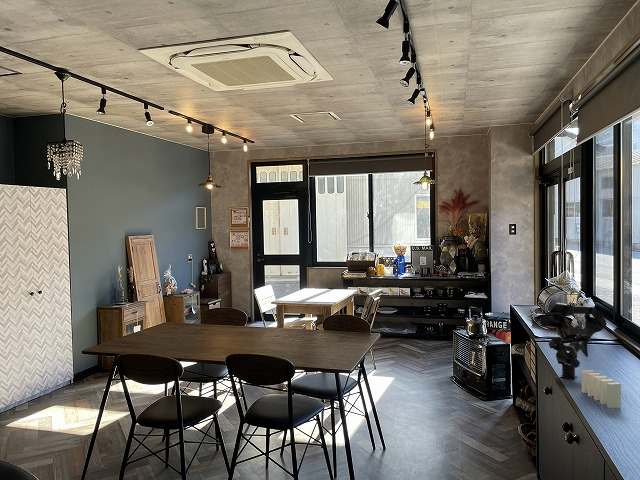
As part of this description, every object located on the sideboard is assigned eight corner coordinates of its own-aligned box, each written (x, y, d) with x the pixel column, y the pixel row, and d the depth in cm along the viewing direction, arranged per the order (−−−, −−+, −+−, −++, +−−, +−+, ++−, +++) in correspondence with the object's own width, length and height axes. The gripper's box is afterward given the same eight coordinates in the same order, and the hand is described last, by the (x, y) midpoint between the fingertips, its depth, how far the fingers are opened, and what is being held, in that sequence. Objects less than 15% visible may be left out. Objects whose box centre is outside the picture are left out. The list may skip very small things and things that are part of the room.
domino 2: (587, 395, 220) (587, 373, 219) (598, 395, 220) (598, 372, 220) (589, 397, 218) (589, 374, 218) (600, 396, 219) (600, 374, 218)
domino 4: (600, 403, 211) (600, 379, 211) (611, 402, 212) (611, 379, 211) (602, 404, 210) (602, 380, 209) (613, 403, 210) (613, 380, 210)
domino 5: (606, 406, 207) (606, 383, 206) (618, 406, 207) (618, 382, 207) (609, 408, 205) (609, 384, 205) (620, 407, 206) (620, 383, 205)
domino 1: (581, 392, 224) (581, 370, 224) (592, 391, 224) (592, 370, 224) (583, 393, 222) (583, 371, 222) (594, 393, 223) (594, 371, 222)
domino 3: (593, 399, 215) (593, 376, 215) (604, 398, 216) (604, 376, 215) (596, 400, 214) (596, 377, 213) (607, 400, 214) (607, 377, 214)
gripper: (551, 321, 233) (566, 351, 223) (588, 317, 235) (604, 347, 225) (542, 333, 242) (556, 362, 232) (578, 329, 244) (593, 358, 234)
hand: (578, 357), depth 230 cm, fingers open, 9 cm apart
